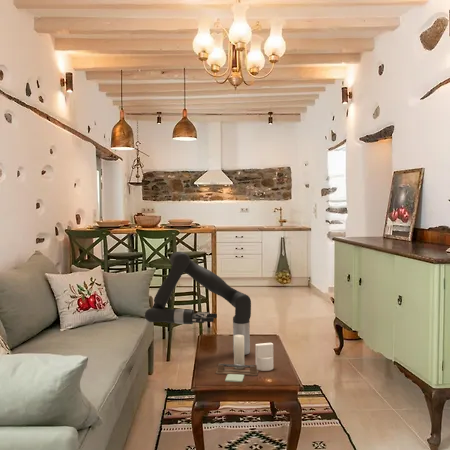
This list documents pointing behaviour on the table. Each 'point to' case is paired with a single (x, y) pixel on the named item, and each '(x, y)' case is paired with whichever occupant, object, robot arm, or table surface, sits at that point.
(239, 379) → the sage mat
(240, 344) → the tall cream cylinder
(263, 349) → the cylinder with rectangular tab
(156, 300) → the robot arm
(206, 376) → the table surface
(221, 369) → the rail stand
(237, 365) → the metal rod
